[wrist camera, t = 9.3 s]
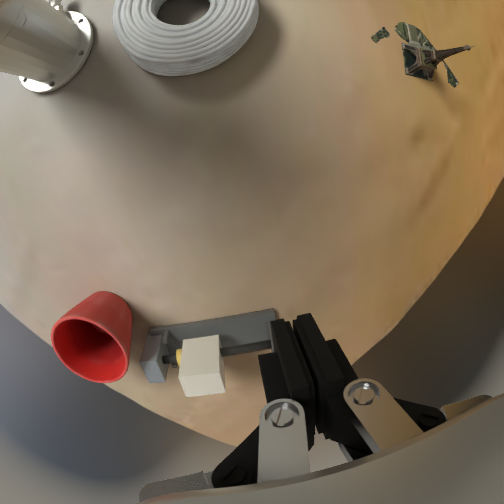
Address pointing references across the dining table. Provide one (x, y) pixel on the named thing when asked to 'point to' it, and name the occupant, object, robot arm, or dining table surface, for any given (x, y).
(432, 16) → the dining table surface
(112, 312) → the flower pot
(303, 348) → the robot arm
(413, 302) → the dining table surface
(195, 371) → the white sliding block
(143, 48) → the cable
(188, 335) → the grey slider rail
